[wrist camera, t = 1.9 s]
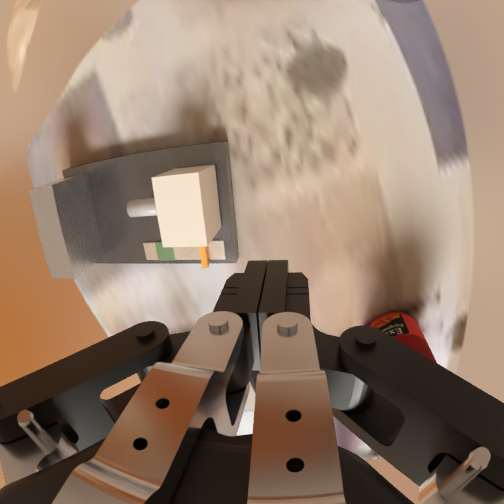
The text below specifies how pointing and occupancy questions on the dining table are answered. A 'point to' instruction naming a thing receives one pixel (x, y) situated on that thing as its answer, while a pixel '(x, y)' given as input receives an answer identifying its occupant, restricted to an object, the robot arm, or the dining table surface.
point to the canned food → (404, 331)
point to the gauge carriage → (184, 207)
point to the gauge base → (125, 212)
